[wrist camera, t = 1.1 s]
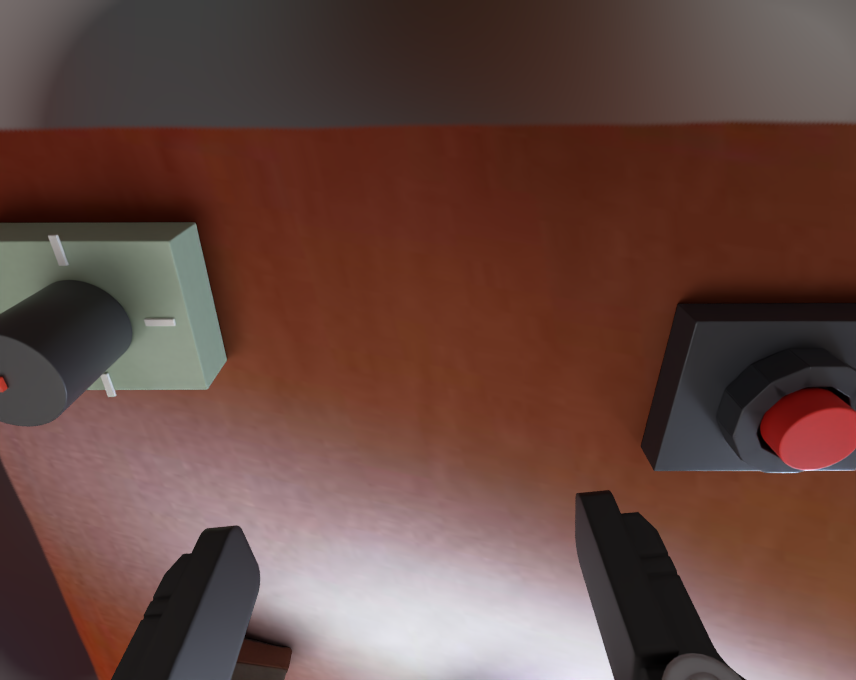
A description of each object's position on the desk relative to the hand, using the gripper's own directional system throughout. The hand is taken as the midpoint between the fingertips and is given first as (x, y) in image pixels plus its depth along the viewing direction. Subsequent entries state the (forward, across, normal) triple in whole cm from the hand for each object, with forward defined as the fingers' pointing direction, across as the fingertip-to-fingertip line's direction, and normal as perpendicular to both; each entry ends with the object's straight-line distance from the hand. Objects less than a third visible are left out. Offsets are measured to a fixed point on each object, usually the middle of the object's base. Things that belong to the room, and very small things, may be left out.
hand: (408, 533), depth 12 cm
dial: (+13, +16, -1) cm, 21 cm away
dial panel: (+16, +16, -1) cm, 23 cm away
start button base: (+16, -19, +9) cm, 27 cm away
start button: (+13, -19, +9) cm, 25 cm away
